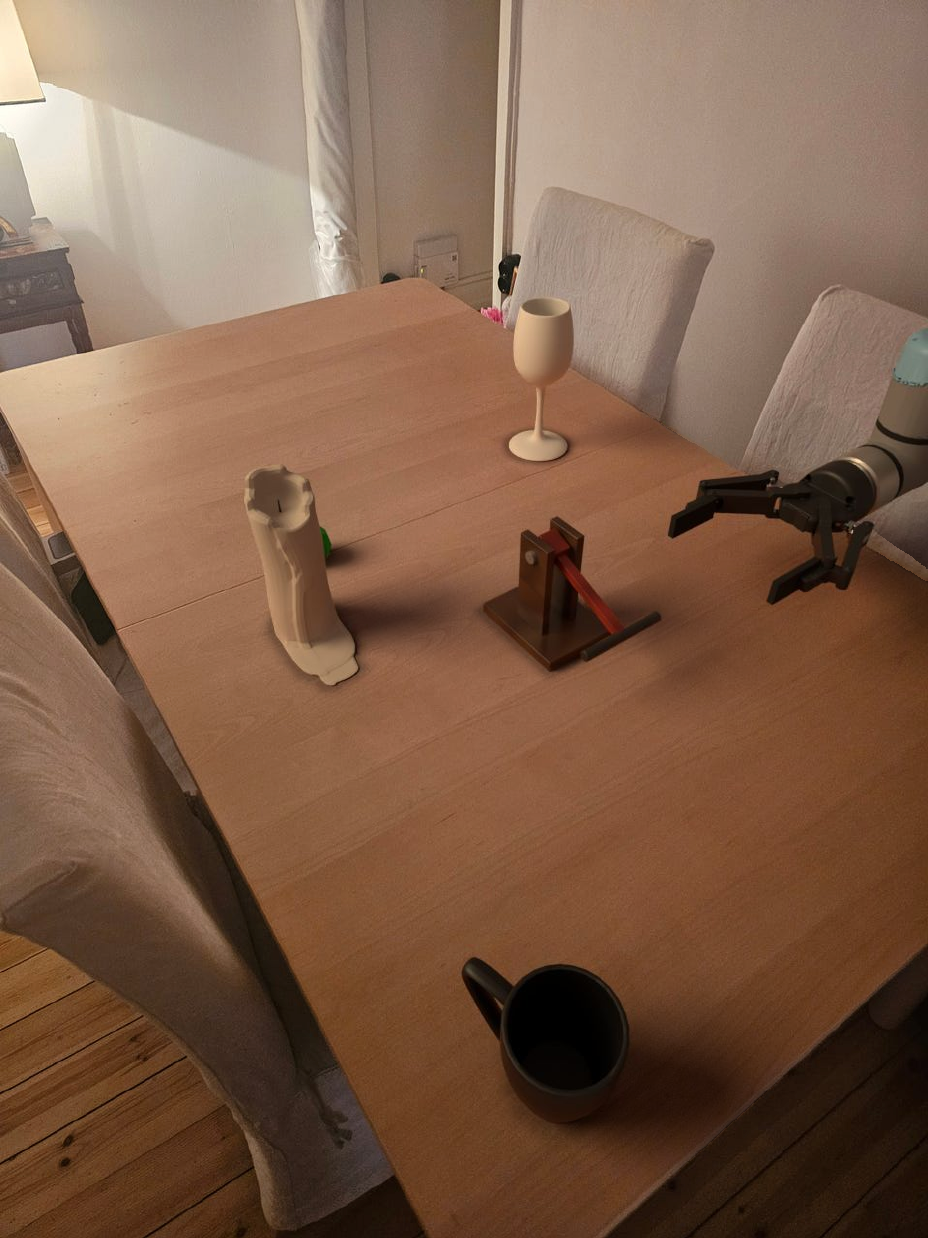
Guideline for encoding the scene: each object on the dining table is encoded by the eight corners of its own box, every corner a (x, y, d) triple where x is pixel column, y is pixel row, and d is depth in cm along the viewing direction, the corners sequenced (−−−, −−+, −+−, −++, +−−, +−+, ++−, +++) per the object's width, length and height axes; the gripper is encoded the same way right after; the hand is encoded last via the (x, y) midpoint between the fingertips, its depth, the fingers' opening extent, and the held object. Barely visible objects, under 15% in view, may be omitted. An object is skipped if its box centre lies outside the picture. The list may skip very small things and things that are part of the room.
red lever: (656, 626, 85) (665, 614, 83) (584, 667, 81) (591, 655, 79) (576, 528, 90) (582, 514, 88) (503, 561, 86) (509, 548, 84)
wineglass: (497, 450, 122) (499, 310, 107) (528, 425, 127) (534, 288, 112) (548, 468, 118) (557, 325, 104) (577, 441, 123) (590, 302, 109)
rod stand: (611, 637, 92) (624, 546, 83) (549, 671, 88) (556, 580, 79) (542, 582, 99) (548, 493, 91) (483, 611, 95) (483, 521, 87)
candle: (314, 694, 86) (283, 542, 73) (265, 619, 95) (229, 470, 81) (375, 667, 89) (356, 515, 75) (321, 597, 98) (296, 449, 84)
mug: (502, 966, 65) (504, 906, 58) (635, 1070, 59) (654, 1015, 53) (434, 1053, 60) (428, 998, 54) (572, 1174, 54) (584, 1129, 48)
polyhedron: (289, 552, 104) (283, 521, 101) (327, 543, 105) (322, 512, 102) (298, 575, 101) (292, 544, 97) (337, 566, 102) (333, 535, 99)
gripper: (934, 570, 89) (809, 652, 80) (752, 470, 104) (631, 530, 95) (961, 514, 84) (832, 594, 75) (766, 417, 99) (639, 474, 90)
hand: (719, 558), depth 85 cm, fingers open, 13 cm apart
